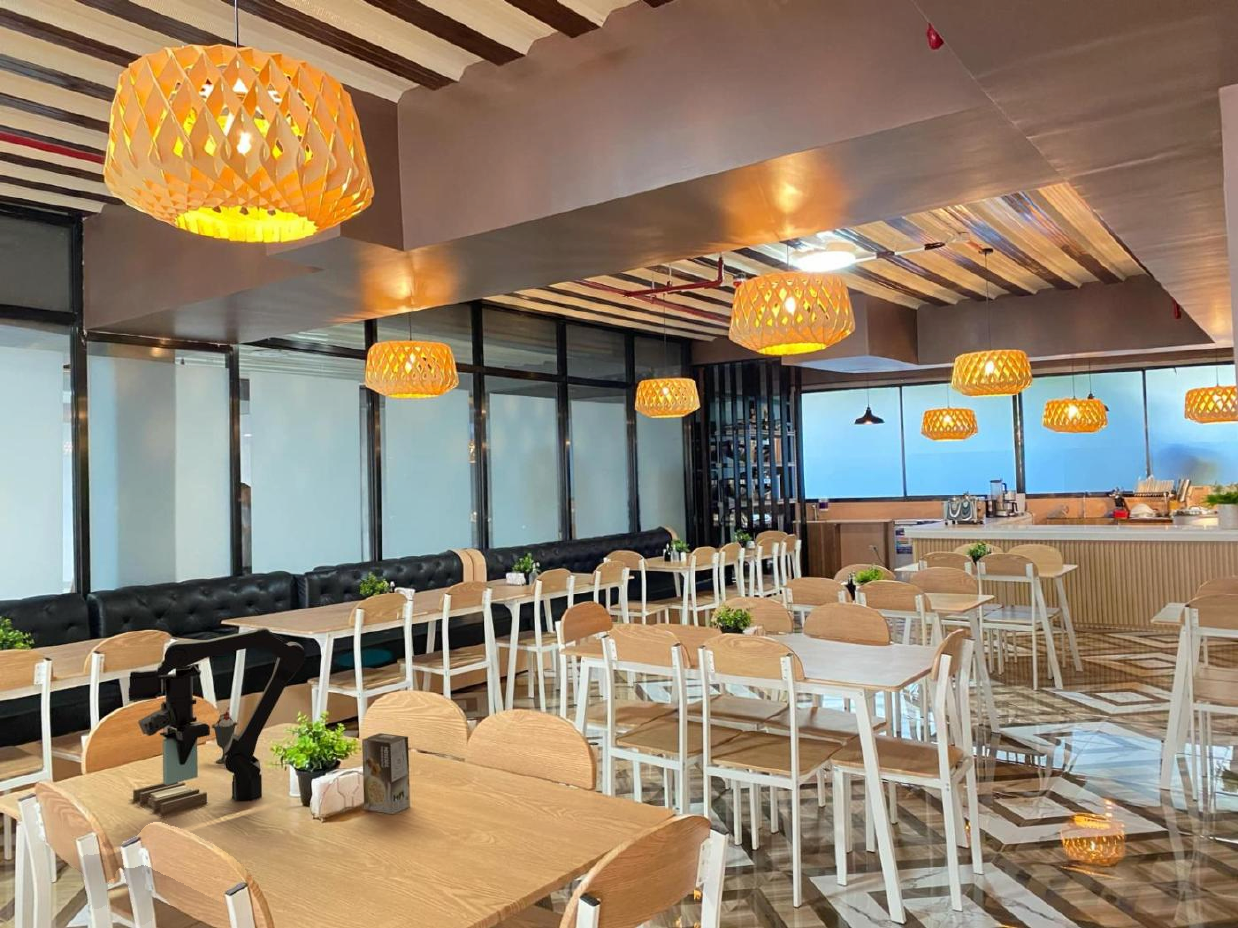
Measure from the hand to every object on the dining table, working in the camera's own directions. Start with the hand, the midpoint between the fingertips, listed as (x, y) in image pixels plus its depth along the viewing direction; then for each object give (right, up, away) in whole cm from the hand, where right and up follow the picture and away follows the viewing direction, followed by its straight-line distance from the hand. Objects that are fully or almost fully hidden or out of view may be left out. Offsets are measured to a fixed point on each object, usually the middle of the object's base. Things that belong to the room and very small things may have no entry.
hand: (180, 763), depth 208 cm
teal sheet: (0, -4, 0) cm, 4 cm away
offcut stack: (-4, -10, +4) cm, 12 cm away
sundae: (-7, -13, +40) cm, 43 cm away
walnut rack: (-4, -11, +3) cm, 13 cm away
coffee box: (+49, -10, -2) cm, 50 cm away
